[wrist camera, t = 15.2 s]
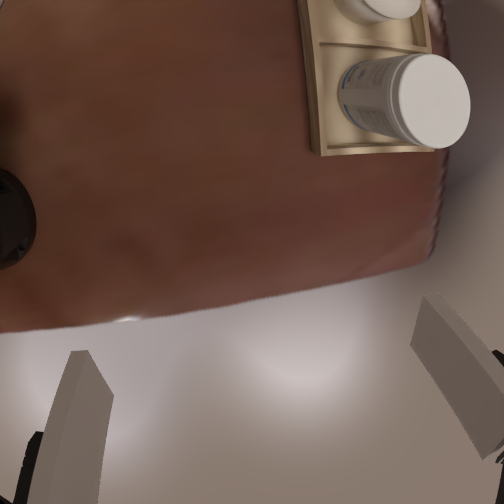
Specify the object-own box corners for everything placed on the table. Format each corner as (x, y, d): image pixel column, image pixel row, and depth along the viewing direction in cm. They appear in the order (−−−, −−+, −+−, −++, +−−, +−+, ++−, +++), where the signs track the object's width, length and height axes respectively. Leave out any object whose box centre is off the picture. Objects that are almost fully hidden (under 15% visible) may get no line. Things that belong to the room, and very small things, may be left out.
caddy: (311, 150, 40) (321, 156, 36) (289, -49, 27) (297, -61, 23) (418, 145, 41) (434, 151, 38) (402, -32, 28) (417, -38, 24)
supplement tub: (403, 125, 39) (475, 146, 26) (343, 135, 39) (405, 159, 26) (392, 58, 34) (465, 54, 21) (328, 63, 34) (389, 52, 21)
